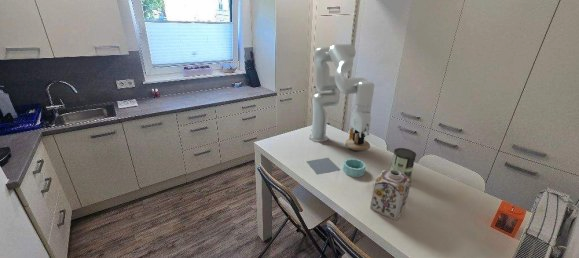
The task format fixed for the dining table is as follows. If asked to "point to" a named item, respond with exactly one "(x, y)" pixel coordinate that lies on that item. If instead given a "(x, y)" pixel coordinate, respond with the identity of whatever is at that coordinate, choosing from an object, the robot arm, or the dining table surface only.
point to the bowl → (354, 167)
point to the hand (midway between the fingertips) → (357, 141)
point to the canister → (352, 136)
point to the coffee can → (403, 161)
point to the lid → (355, 146)
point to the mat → (322, 166)
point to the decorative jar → (390, 193)
